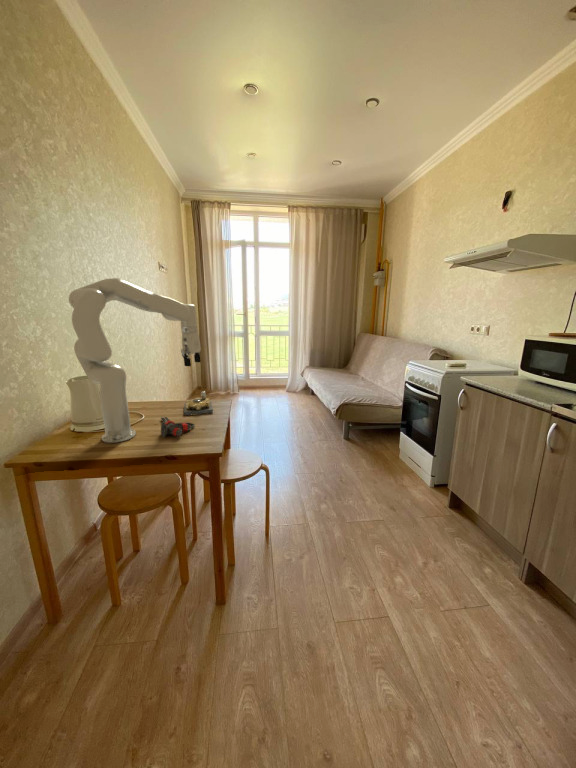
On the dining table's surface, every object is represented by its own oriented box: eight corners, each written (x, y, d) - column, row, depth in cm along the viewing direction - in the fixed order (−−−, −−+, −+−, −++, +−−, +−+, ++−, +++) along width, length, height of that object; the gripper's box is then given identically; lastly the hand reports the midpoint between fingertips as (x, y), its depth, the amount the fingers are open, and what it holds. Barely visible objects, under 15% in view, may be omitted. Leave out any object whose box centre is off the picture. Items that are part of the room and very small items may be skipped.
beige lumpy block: (210, 408, 158) (209, 396, 156) (186, 410, 154) (185, 398, 152) (209, 401, 169) (208, 389, 168) (186, 403, 166) (185, 391, 164)
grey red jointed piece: (201, 438, 133) (165, 442, 124) (183, 422, 154) (151, 424, 145) (201, 424, 132) (165, 426, 123) (184, 410, 153) (152, 411, 144)
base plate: (212, 413, 157) (212, 409, 157) (184, 415, 153) (184, 412, 153) (211, 404, 171) (210, 400, 171) (184, 406, 167) (184, 403, 167)
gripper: (187, 332, 141) (190, 368, 145) (204, 328, 157) (207, 360, 162) (172, 331, 142) (176, 367, 147) (191, 328, 159) (194, 360, 163)
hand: (192, 364), depth 154 cm, fingers open, 9 cm apart
